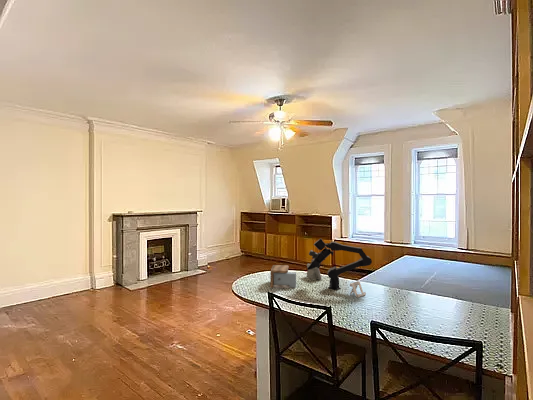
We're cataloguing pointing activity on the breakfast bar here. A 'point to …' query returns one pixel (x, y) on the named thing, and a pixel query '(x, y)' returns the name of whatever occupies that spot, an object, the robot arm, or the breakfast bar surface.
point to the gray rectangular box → (285, 279)
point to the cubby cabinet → (278, 270)
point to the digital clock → (313, 273)
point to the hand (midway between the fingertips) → (307, 269)
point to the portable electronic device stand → (355, 289)
